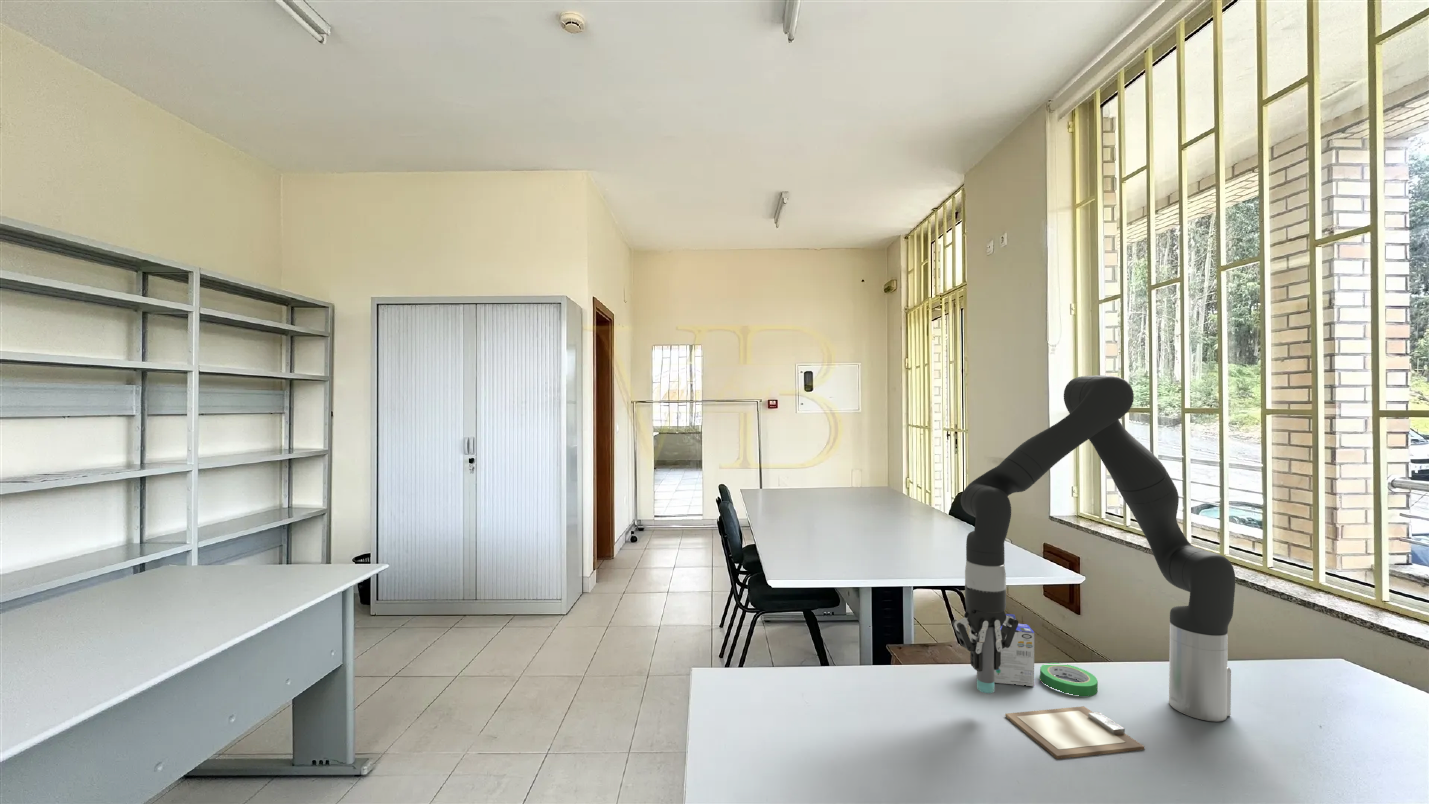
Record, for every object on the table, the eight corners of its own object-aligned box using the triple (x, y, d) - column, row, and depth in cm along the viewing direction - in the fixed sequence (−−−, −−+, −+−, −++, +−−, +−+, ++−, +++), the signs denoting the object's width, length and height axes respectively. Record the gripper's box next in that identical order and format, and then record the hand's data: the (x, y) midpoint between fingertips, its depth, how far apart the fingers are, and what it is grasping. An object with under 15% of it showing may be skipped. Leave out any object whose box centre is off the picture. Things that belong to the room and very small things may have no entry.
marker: (987, 684, 119) (987, 621, 119) (997, 692, 116) (997, 627, 116) (973, 686, 119) (973, 622, 119) (983, 693, 116) (983, 628, 116)
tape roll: (1093, 679, 134) (1093, 668, 134) (1101, 702, 124) (1102, 690, 124) (1038, 670, 138) (1038, 659, 138) (1042, 691, 128) (1042, 679, 128)
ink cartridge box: (1027, 676, 135) (1028, 613, 134) (1036, 687, 129) (1036, 622, 129) (982, 671, 137) (982, 610, 136) (988, 683, 131) (988, 619, 131)
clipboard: (1083, 709, 120) (1083, 701, 120) (1144, 749, 106) (1144, 740, 106) (1005, 716, 117) (1005, 708, 117) (1057, 759, 103) (1057, 750, 103)
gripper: (1004, 576, 122) (1004, 658, 122) (942, 580, 120) (943, 663, 120) (1029, 587, 115) (1029, 674, 115) (964, 592, 113) (964, 680, 113)
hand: (985, 668), depth 118 cm, fingers closed on marker, 3 cm apart
